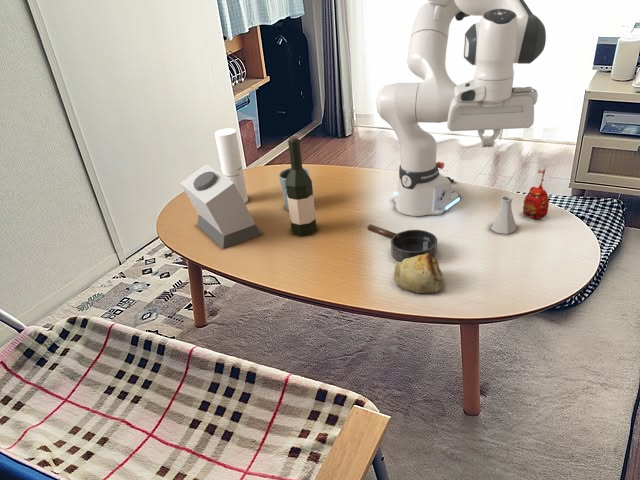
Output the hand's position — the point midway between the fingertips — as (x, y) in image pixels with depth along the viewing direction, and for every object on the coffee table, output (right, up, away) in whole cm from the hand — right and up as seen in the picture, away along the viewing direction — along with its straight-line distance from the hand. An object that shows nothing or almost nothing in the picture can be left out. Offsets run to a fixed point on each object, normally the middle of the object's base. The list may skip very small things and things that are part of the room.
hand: (487, 146), depth 140 cm
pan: (-15, -25, +21) cm, 36 cm away
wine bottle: (-47, -15, +39) cm, 63 cm away
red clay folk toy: (+25, -11, +34) cm, 43 cm away
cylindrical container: (-71, -1, +62) cm, 94 cm away
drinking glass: (-50, -4, +54) cm, 74 cm away
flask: (+14, -16, +29) cm, 36 cm away
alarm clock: (-73, -14, +44) cm, 86 cm away
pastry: (-15, -33, +10) cm, 38 cm away
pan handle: (-23, -18, +27) cm, 40 cm away
